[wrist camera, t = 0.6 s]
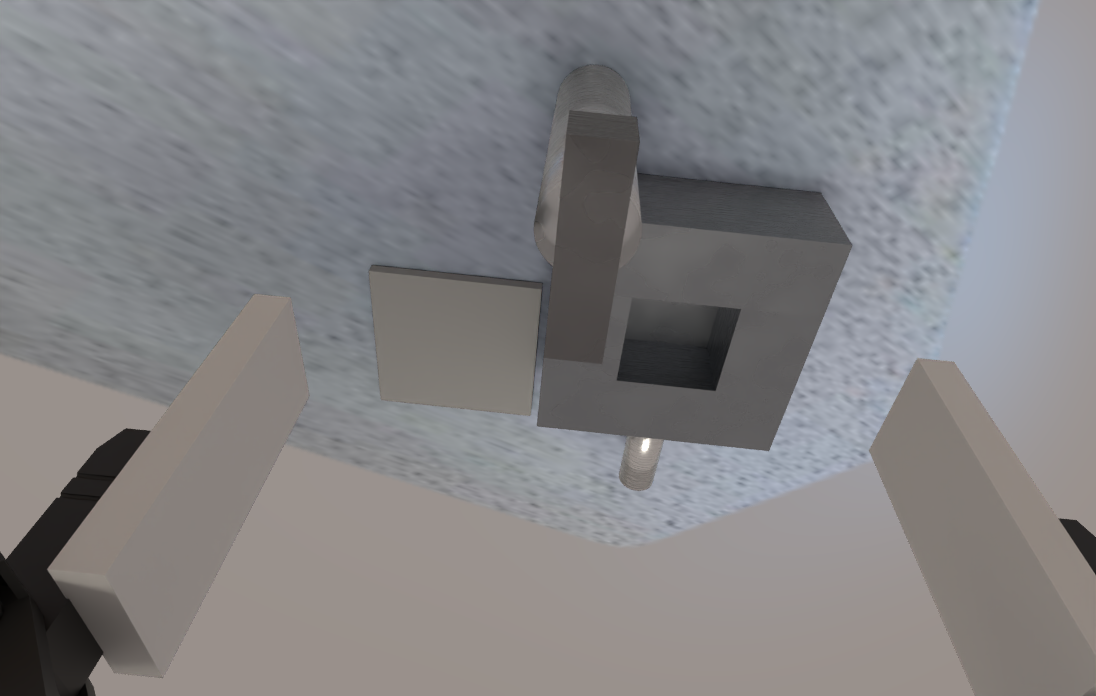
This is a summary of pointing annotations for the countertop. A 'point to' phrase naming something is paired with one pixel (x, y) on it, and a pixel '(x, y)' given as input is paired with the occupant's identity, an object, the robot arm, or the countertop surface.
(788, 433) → the countertop surface
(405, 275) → the mat
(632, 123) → the chuck key
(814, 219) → the block
